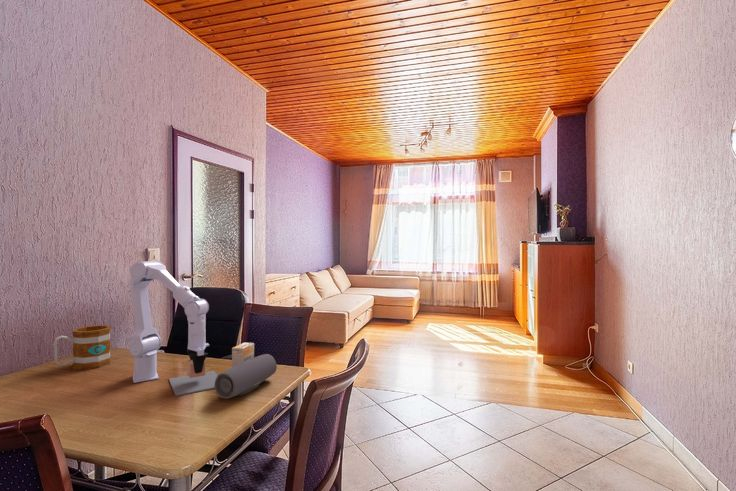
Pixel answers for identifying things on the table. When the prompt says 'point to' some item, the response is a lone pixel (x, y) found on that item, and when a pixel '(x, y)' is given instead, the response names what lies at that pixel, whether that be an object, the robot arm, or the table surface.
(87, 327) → the mug
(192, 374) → the terracotta cube
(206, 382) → the gray placemat
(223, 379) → the bluetooth speaker
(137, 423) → the table surface
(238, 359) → the supplement box
